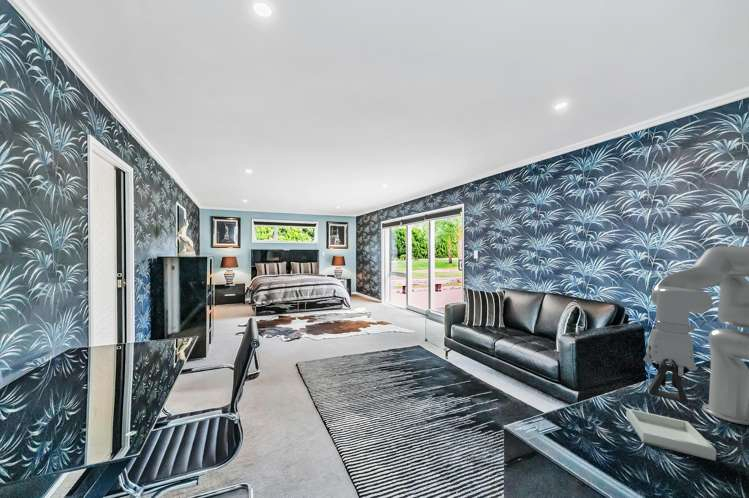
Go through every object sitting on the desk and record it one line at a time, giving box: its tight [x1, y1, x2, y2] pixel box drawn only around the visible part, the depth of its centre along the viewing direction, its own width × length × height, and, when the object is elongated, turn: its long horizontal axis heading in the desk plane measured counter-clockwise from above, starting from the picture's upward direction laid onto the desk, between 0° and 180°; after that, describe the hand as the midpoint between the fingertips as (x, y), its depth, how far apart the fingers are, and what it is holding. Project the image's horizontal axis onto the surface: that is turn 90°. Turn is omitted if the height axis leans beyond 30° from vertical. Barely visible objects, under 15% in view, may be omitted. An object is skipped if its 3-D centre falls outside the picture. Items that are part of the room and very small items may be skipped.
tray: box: [625, 408, 717, 461], centre depth 98 cm, size 16×17×3 cm
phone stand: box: [648, 359, 689, 405], centre depth 98 cm, size 9×6×12 cm, turn 48°
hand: (668, 385), depth 98 cm, fingers closed on phone stand, 2 cm apart
